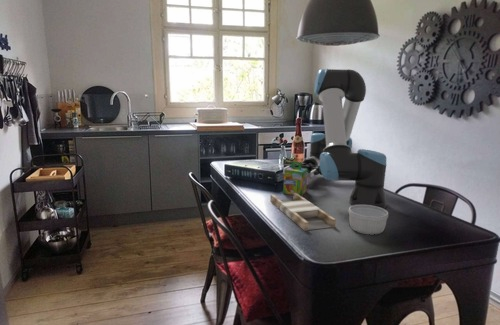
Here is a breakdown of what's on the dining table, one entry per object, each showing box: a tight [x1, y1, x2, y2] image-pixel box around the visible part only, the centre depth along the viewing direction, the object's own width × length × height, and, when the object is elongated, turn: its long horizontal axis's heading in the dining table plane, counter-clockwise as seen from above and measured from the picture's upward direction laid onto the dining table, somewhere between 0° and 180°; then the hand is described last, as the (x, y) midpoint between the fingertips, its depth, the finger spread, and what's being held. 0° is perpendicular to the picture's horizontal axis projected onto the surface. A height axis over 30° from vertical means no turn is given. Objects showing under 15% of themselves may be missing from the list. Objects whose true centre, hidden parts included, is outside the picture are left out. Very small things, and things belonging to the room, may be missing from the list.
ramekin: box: [348, 205, 389, 236], centre depth 122 cm, size 13×13×7 cm
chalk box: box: [282, 161, 308, 197], centre depth 162 cm, size 9×9×15 cm
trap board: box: [270, 193, 337, 232], centre depth 137 cm, size 33×12×3 cm, turn 18°
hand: (297, 172), depth 165 cm, fingers open, 13 cm apart
